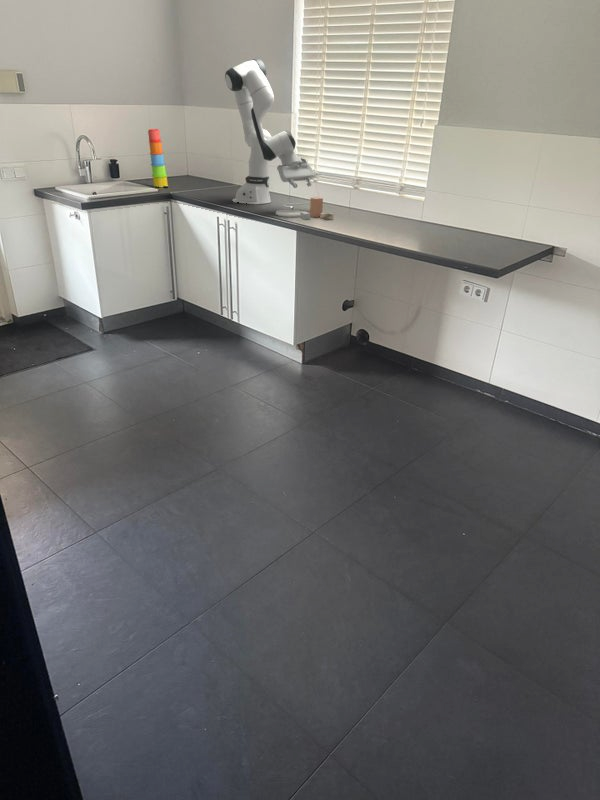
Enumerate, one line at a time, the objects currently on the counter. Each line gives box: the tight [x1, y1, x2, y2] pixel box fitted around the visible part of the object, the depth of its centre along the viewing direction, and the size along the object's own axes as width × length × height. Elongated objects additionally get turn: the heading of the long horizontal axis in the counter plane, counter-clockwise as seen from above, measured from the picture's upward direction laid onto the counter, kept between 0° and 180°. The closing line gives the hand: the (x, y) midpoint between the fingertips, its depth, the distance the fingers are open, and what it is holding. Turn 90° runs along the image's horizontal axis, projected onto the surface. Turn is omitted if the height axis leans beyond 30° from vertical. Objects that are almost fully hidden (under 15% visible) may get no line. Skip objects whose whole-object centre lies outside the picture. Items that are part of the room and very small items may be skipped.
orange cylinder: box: [309, 196, 324, 218], centre depth 293 cm, size 4×4×9 cm
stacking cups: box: [147, 128, 169, 187], centre depth 362 cm, size 10×10×35 cm
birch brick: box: [319, 212, 334, 220], centre depth 288 cm, size 6×3×3 cm, turn 103°
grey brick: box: [299, 211, 311, 220], centre depth 289 cm, size 6×3×3 cm, turn 22°
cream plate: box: [275, 209, 304, 218], centre depth 297 cm, size 15×15×1 cm
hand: (302, 186), depth 295 cm, fingers open, 8 cm apart
